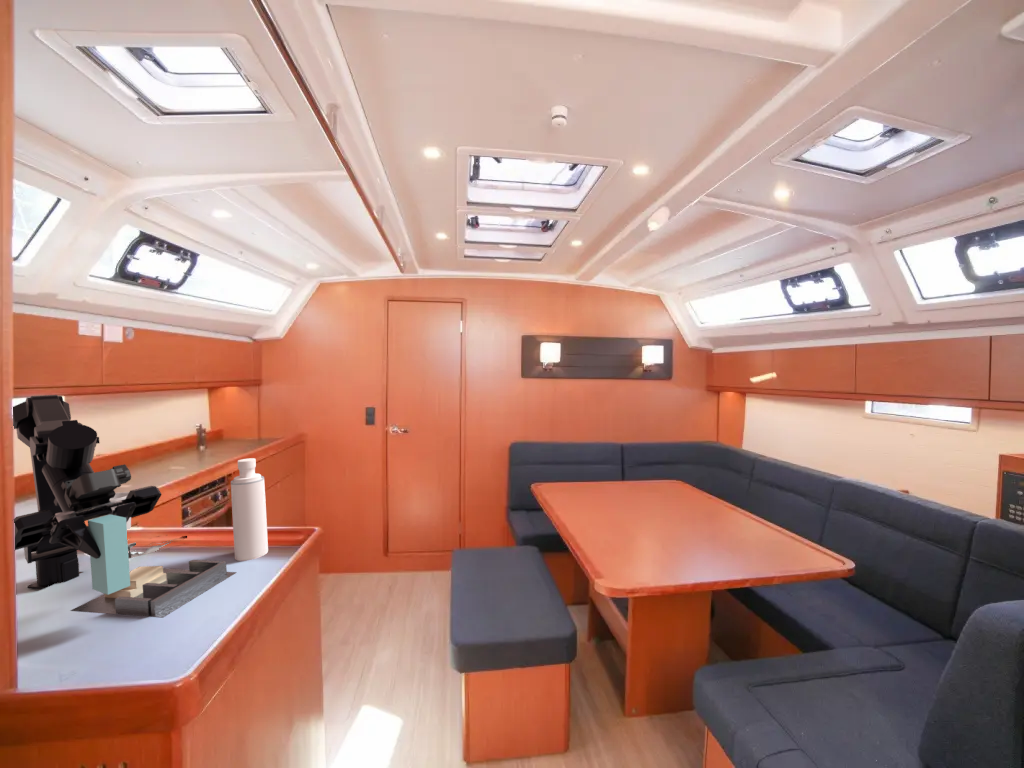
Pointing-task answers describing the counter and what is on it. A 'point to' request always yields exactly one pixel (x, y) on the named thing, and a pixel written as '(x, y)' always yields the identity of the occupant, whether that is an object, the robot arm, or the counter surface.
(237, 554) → the white bottle
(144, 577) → the upper offcut
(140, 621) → the counter surface
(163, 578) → the lower offcut
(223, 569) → the tray
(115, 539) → the teal block
